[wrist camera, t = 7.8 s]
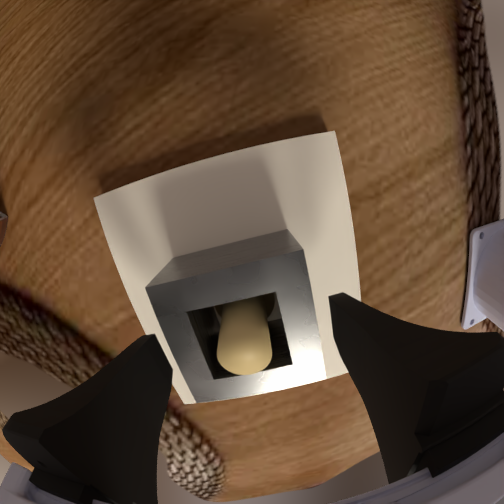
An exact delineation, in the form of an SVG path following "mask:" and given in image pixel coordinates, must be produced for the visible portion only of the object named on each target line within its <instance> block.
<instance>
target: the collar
mask: <svg viewBox="0 0 504 504" xmlns="http://www.w3.org/2000/svg"><path fill="white" fill-rule="evenodd" d="M145 289H146V292H147V295H148V297H149V300H150V303H151V305H152V308H153V310H154V313H155V315H156V318H157V320H158V322H159V325H160V327H161V330H162V332H163V334H164V337H165V339H166V341H167V343H168V346H169V348H170V350H171V352H172V354H173V357H174V359H175V361H176V363H177V365H178V367H179V369H180V371H181V374H182V376H183V378H184V380H185V382H186V384H187V386H188V388H189V390H190V392H191V393H192V395H193V397H194V399H195V401H196V403H201V402H210V401H218V400H225V399H232V398H238V397H245V396H250V395H256V394H262V393H267V392H272V391H277V390H281V389H286V388H290V387H295V386H299V385H303V384H307V383H311V382H315V381H319V380H322V379H326V374H325V367H324V360H323V353H322V347H321V341H320V335H319V329H318V323H317V317H316V311H315V305H314V300H313V294H312V289H311V284H310V279H309V273H308V268H307V263H306V258H305V254H304V249H303V248H302V247H301V245H300V244H299V243H298V241H297V240H296V239H295V238H294V236H293V235H292V234H291V233H290V231H289V230H288V229H285V230H281V231H277V232H273V233H269V234H265V235H261V236H257V237H253V238H249V239H245V240H241V241H237V242H233V243H229V244H225V245H221V246H217V247H213V248H209V249H205V250H201V251H197V252H193V253H189V254H185V255H182V256H178V257H174V258H172V259H171V260H170V261H169V263H168V264H167V265H166V266H165V267H164V268H163V269H162V270H161V271H160V272H159V273H158V274H157V275H156V276H155V277H154V278H153V279H152V280H151V281H150V283H149V284H148V285H147V286H146V287H145ZM272 292H276V294H277V299H278V303H279V307H280V311H281V315H282V318H280V319H276V320H272V321H268V327H269V334H270V341H271V349H272V358H271V361H270V363H269V364H268V366H267V367H266V368H264V369H263V370H262V371H260V372H258V373H255V374H250V375H239V374H234V373H232V372H229V371H228V370H226V369H225V368H223V367H222V366H221V364H220V363H219V361H218V358H217V348H218V340H219V333H220V324H219V321H218V318H217V315H216V312H215V309H214V306H215V305H220V304H224V303H229V302H233V301H238V300H242V299H247V298H251V297H255V296H259V295H264V294H268V293H272Z"/></svg>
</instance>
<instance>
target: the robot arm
mask: <svg viewBox="0 0 504 504" xmlns="http://www.w3.org/2000/svg"><path fill="white" fill-rule="evenodd" d="M328 298H329V306H330V313H331V322H332V330H333V338H334V341H335V343H336V346H337V349H338V351H339V354H340V357H341V359H342V361H343V363H344V365H345V366H346V368H347V370H348V372H349V374H350V376H351V378H352V380H353V382H354V384H355V385H356V387H357V389H358V391H359V393H360V395H361V397H362V399H363V402H364V404H365V406H366V409H367V412H368V415H369V417H370V420H371V423H372V426H373V429H374V432H375V435H376V438H377V441H378V445H379V448H380V452H381V455H382V459H383V462H384V466H385V470H386V474H387V478H388V482H389V485H386V486H383V487H381V488H378V489H375V490H372V491H369V492H367V493H363V494H360V495H357V496H354V497H350V498H347V499H343V500H340V501H336V502H332V503H328V504H495V503H496V502H498V501H499V500H500V499H501V498H503V497H504V391H503V388H504V338H503V337H502V336H501V335H500V334H499V333H498V332H481V333H467V332H453V331H445V330H439V329H434V328H428V327H424V326H420V325H416V324H413V323H410V322H406V321H403V320H400V319H397V318H395V317H393V316H390V315H388V314H385V313H383V312H381V311H379V310H376V309H374V308H372V307H370V306H368V305H366V304H364V303H363V302H361V301H359V300H357V299H355V298H353V297H351V296H350V295H348V294H346V293H344V292H342V293H338V294H334V295H331V296H328ZM486 318H489V319H490V320H491V321H492V322H493V323H495V324H496V325H497V326H498V327H499V328H501V329H502V330H503V331H504V219H502V220H499V221H496V222H493V223H490V224H487V225H484V226H481V227H478V228H475V229H473V230H472V232H471V234H470V247H469V266H468V278H467V288H466V296H465V304H464V311H463V317H462V323H461V327H462V328H463V329H468V328H469V327H471V326H473V325H475V324H477V323H479V322H480V321H482V320H484V319H486ZM172 377H173V368H172V366H171V365H170V363H169V361H168V359H167V357H166V355H165V353H164V351H163V349H162V347H161V345H160V343H159V341H158V339H157V337H156V335H155V334H149V335H143V336H141V337H140V338H138V339H137V340H136V341H134V342H133V343H132V344H131V345H129V346H128V347H127V348H126V349H125V350H124V351H122V352H121V353H120V354H119V355H118V356H117V357H116V358H114V359H113V360H112V361H111V362H110V363H109V364H107V365H106V366H105V367H104V368H102V369H101V370H100V371H99V372H97V373H96V374H95V375H94V376H92V377H91V378H90V379H88V380H87V381H85V382H84V383H82V384H81V385H79V386H78V387H76V388H74V389H73V390H71V391H69V392H67V393H66V394H64V395H62V396H60V397H58V398H56V399H54V400H52V401H49V402H47V403H45V404H42V405H40V406H37V407H34V408H31V409H28V410H24V411H20V412H16V413H14V414H13V415H12V416H11V417H10V419H9V420H8V422H7V423H6V425H5V426H4V428H3V429H2V431H3V435H4V437H5V438H6V440H7V441H8V442H9V444H10V445H11V446H12V447H13V448H14V449H15V450H16V451H17V452H18V453H19V454H20V455H21V456H22V457H23V458H24V459H25V460H27V461H28V462H29V463H30V464H31V465H32V466H33V467H35V468H34V470H33V472H31V471H30V470H28V469H26V468H25V467H22V466H20V465H18V464H16V463H14V462H12V464H11V466H10V468H9V470H8V472H7V473H6V475H5V477H4V480H3V482H2V484H1V486H0V504H158V500H157V455H158V445H159V437H160V431H161V427H162V423H163V419H164V415H165V412H166V408H167V404H168V400H169V396H170V392H171V386H172Z"/></svg>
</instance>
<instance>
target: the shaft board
mask: <svg viewBox="0 0 504 504" xmlns="http://www.w3.org/2000/svg"><path fill="white" fill-rule="evenodd" d="M94 201H95V204H96V208H97V211H98V214H99V218H100V221H101V224H102V227H103V230H104V233H105V236H106V239H107V242H108V245H109V248H110V250H111V253H112V256H113V258H114V261H115V264H116V266H117V269H118V272H119V274H120V277H121V279H122V282H123V284H124V286H125V289H126V291H127V294H128V296H129V298H130V301H131V303H132V305H133V307H134V310H135V312H136V314H137V316H138V318H139V321H140V323H141V325H142V327H143V329H144V331H145V333H146V335H149V334H155V335H156V337H157V339H158V341H159V343H160V345H161V347H162V349H163V351H164V353H165V355H166V357H167V359H168V361H169V363H170V365H171V366H172V368H173V377H172V384H173V386H174V387H175V389H176V391H177V393H178V394H179V396H180V398H181V399H182V401H183V402H184V404H192V403H196V401H195V399H194V397H193V395H192V393H191V392H190V390H189V388H188V386H187V384H186V382H185V380H184V378H183V376H182V374H181V371H180V369H179V367H178V365H177V363H176V361H175V359H174V357H173V354H172V352H171V350H170V348H169V346H168V343H167V341H166V339H165V337H164V334H163V332H162V330H161V327H160V325H159V322H158V320H157V318H156V315H155V313H154V310H153V308H152V305H151V303H150V300H149V297H148V295H147V292H146V289H145V287H146V286H147V285H148V284H149V283H150V281H151V280H152V279H153V278H154V277H155V276H156V275H157V274H158V273H159V272H160V271H161V270H162V269H163V268H164V267H165V266H166V265H167V264H168V263H169V261H170V260H171V259H172V258H174V257H178V256H182V255H185V254H189V253H193V252H197V251H201V250H205V249H209V248H213V247H217V246H221V245H225V244H229V243H233V242H237V241H241V240H245V239H249V238H253V237H257V236H261V235H265V234H269V233H273V232H277V231H281V230H285V229H288V230H289V231H290V233H291V234H292V235H293V236H294V238H295V239H296V240H297V241H298V243H299V244H300V245H301V247H302V248H303V249H304V254H305V258H306V263H307V268H308V273H309V279H310V284H311V289H312V294H313V300H314V305H315V311H316V317H317V323H318V329H319V335H320V341H321V347H322V353H323V360H324V367H325V374H326V379H328V378H331V377H335V376H338V375H342V374H345V373H348V370H347V368H346V366H345V365H344V363H343V361H342V359H341V357H340V354H339V351H338V349H337V346H336V343H335V341H334V338H333V330H332V322H331V313H330V306H329V298H328V296H331V295H334V294H338V293H342V292H344V293H346V294H348V295H350V296H351V297H353V298H355V299H357V300H359V301H361V296H360V283H359V273H358V263H357V254H356V246H355V238H354V230H353V223H352V217H351V210H350V204H349V198H348V192H347V187H346V181H345V176H344V171H343V166H342V161H341V157H340V152H339V147H338V143H337V139H336V135H335V131H331V132H325V133H318V134H313V135H307V136H301V137H296V138H291V139H286V140H281V141H276V142H272V143H267V144H263V145H258V146H254V147H250V148H245V149H241V150H237V151H233V152H230V153H226V154H222V155H218V156H215V157H211V158H207V159H204V160H200V161H197V162H194V163H190V164H187V165H184V166H180V167H177V168H174V169H171V170H168V171H165V172H162V173H159V174H156V175H153V176H150V177H147V178H144V179H142V180H139V181H136V182H133V183H130V184H128V185H125V186H122V187H120V188H117V189H115V190H112V191H110V192H107V193H105V194H102V195H100V196H97V197H95V198H94ZM214 309H215V312H216V315H217V318H218V321H219V324H220V333H219V340H218V348H217V358H218V361H219V363H220V364H221V366H222V367H223V368H225V369H226V370H228V371H229V372H232V373H234V374H239V375H250V374H255V373H258V372H260V371H262V370H263V369H264V368H266V367H267V366H268V364H269V363H270V361H271V358H272V349H271V341H270V334H269V327H268V321H272V320H276V319H280V318H282V315H281V311H280V307H279V303H278V299H277V294H276V292H272V293H268V294H264V295H259V296H255V297H251V298H247V299H242V300H238V301H233V302H229V303H224V304H220V305H215V306H214ZM322 380H324V379H322ZM319 381H320V380H319ZM315 382H316V381H315ZM311 383H313V382H311ZM307 384H309V383H307ZM303 385H305V384H303ZM299 386H301V385H299ZM295 387H296V386H295ZM290 388H292V387H290ZM286 389H288V388H286ZM281 390H283V389H281ZM277 391H278V390H277ZM272 392H273V391H272ZM267 393H268V392H267ZM262 394H263V393H262ZM256 395H258V394H256ZM250 396H252V395H250ZM245 397H246V396H245ZM238 398H240V397H238ZM232 399H233V398H232ZM225 400H226V399H225ZM218 401H219V400H218ZM210 402H211V401H210ZM201 403H202V402H201Z"/></svg>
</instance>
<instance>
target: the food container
mask: <svg viewBox="0 0 504 504" xmlns="http://www.w3.org/2000/svg"><path fill="white" fill-rule="evenodd" d="M7 222H8V216H6V215H5V214H3V213H2V212H0V246H1V244H2V242H3V239H4V236H5V232H6V228H7Z"/></svg>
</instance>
